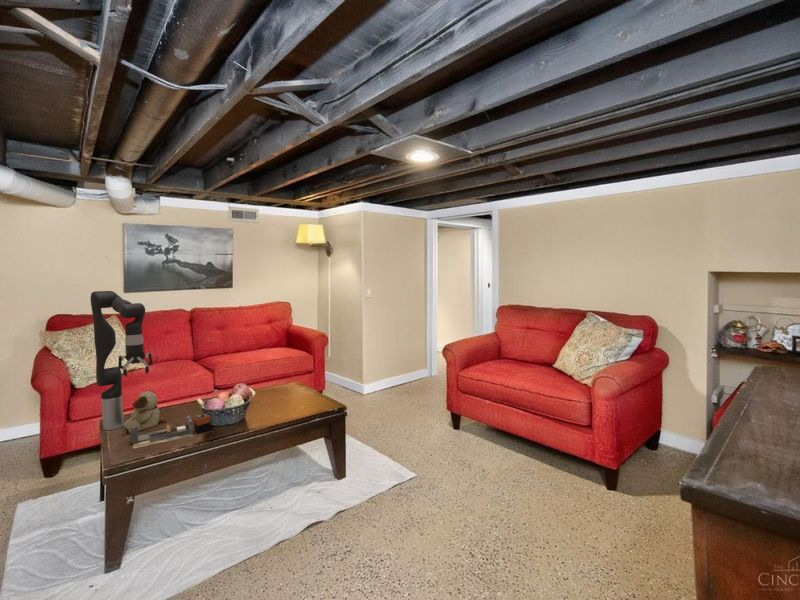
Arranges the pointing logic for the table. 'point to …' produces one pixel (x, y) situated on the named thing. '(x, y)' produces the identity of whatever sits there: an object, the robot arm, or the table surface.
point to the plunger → (146, 434)
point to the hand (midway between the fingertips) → (136, 375)
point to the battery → (202, 423)
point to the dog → (145, 412)
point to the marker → (181, 428)
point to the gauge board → (167, 435)
